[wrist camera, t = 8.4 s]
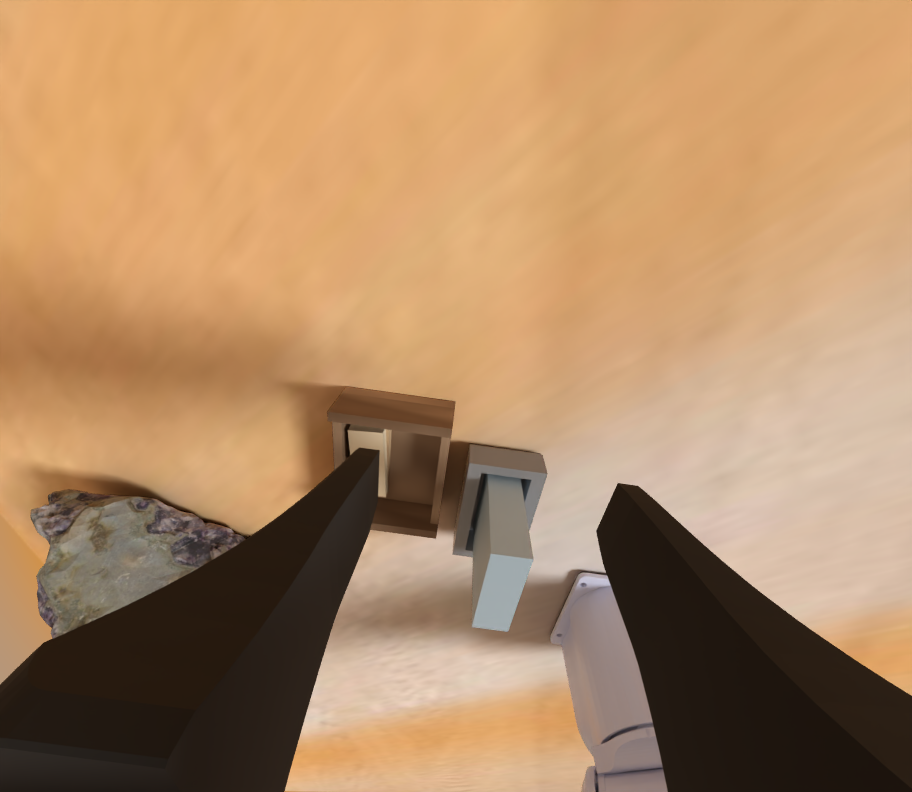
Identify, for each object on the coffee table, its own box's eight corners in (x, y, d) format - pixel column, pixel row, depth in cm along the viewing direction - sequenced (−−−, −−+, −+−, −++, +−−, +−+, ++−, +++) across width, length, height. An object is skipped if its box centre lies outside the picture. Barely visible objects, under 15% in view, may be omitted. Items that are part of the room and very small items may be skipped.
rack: (440, 503, 25) (435, 538, 23) (348, 491, 25) (333, 524, 22) (455, 401, 21) (452, 429, 19) (346, 386, 21) (327, 411, 19)
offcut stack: (390, 490, 24) (385, 505, 23) (355, 485, 24) (349, 500, 23) (394, 420, 21) (388, 433, 20) (355, 414, 21) (347, 427, 20)
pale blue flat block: (500, 529, 25) (508, 631, 19) (473, 525, 25) (471, 627, 19) (518, 464, 23) (533, 559, 16) (487, 459, 23) (491, 553, 16)
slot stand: (515, 537, 26) (518, 563, 24) (454, 528, 26) (452, 554, 24) (541, 451, 23) (547, 473, 21) (470, 441, 23) (469, 463, 21)
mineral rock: (77, 470, 26) (-134, 607, 17) (194, 436, 24) (25, 571, 15) (189, 581, 31) (75, 728, 22) (293, 561, 29) (212, 714, 20)
